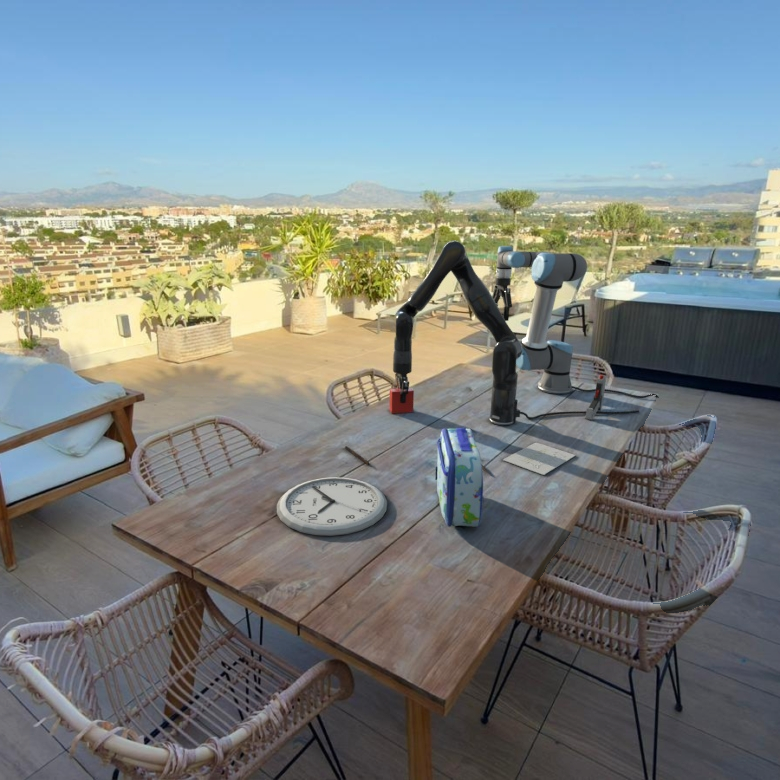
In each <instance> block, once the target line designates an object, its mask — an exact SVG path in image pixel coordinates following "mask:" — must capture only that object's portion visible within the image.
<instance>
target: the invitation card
mask: <svg viewBox="0 0 780 780" xmlns="http://www.w3.org/2000/svg"><path fill="white" fill-rule="evenodd" d="M576 456H577V455H576V454H573V453H570V452H567V451H565V450H561V449H558V448H555V447H552V446H549V445H546V444H543V443H539V442H534V443H532V444H529V445H528V446H526V447H524V448H522V449H520V450H518V451H516V452H514V453H512V454H510V455H509V456H507V457H505V458H503V459H502V461H503V462H506V463H509V464H511V465H514V466H518V467H520V468H523V469H525V470H528V471H531V472H534V473H536V474H539V475H541V476H545V475H547V474H548V473H550V472H552V471H554V469H556V468H558V467H559V466H561V465H563V464H564V463H566V462H568V461H570V460H571V459H572V458H574V457H576Z"/></svg>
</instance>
